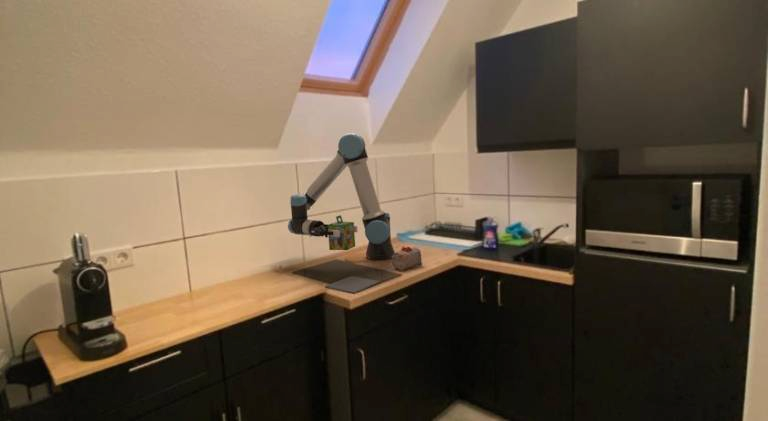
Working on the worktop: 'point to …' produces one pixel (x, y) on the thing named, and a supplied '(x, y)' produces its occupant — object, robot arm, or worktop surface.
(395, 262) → the food item
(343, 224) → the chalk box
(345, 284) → the rubber mat
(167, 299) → the worktop surface
